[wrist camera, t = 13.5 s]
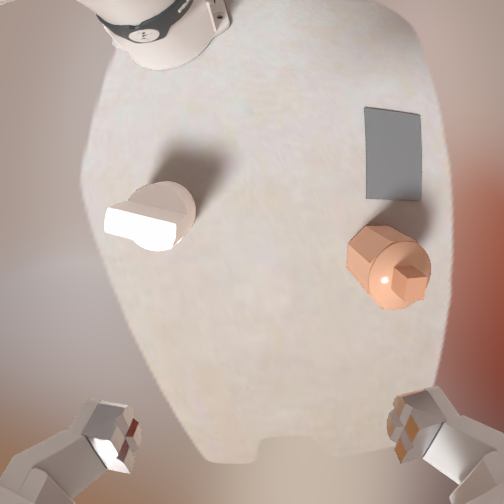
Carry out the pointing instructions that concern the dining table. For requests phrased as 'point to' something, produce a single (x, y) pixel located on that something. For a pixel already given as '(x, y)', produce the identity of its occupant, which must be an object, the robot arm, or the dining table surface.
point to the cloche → (389, 266)
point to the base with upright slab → (153, 216)
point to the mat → (393, 155)
